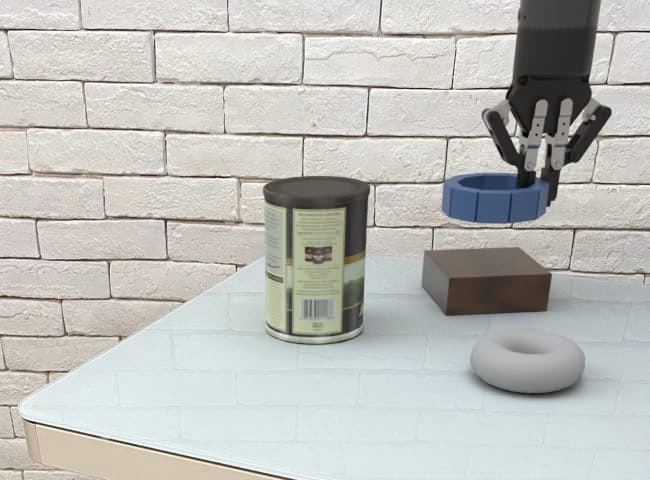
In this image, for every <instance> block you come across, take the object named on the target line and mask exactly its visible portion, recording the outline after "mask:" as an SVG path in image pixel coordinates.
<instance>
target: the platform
mask: <svg viewBox="0 0 650 480" xmlns="http://www.w3.org/2000/svg"><path fill="white" fill-rule="evenodd" d="M422 263H423V264H422V274H421V286H422V287H423V289H424V290H425V291H426V293H427V294H428V295H429V296H430V298H431V299H432V300H433V301H434V303H435V304H436V305H437V306H438V307H439V309H440V310H441V311H442V312H443V314H444V315H445V316H460V315H481V314H482V315H483V314H505V313H506V314H507V313H524V312H525V313H528V312H547V310H548V304H549V298H550V291H551V285H552V277H553V273H552V272H551V271H549V270H548V269H547V268H546V267H544V266H543V265H542V264H540V263H539V261H536V259H534V258H533V257H532V256H531V255H530V254H528V253H527V252H526V251H524V250H523V249H522V248H520V247H519V246H506V247H505V246H504V247H503V246H502V247H481V248H480V247H479V248H456V249H455V248H454V249H453V248H451V249H431V250H429V249H428V250H424V251H423V260H422Z"/></svg>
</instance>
